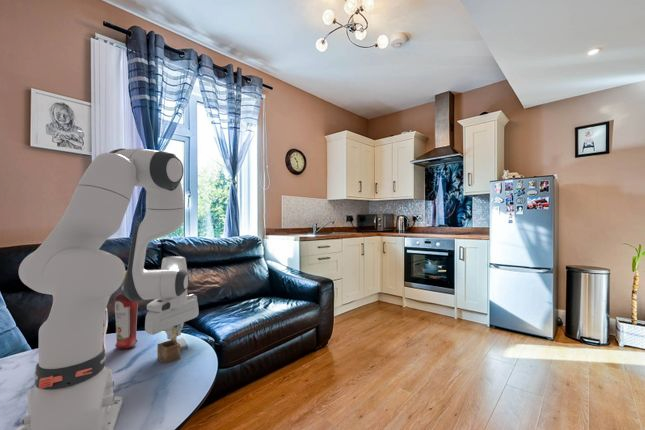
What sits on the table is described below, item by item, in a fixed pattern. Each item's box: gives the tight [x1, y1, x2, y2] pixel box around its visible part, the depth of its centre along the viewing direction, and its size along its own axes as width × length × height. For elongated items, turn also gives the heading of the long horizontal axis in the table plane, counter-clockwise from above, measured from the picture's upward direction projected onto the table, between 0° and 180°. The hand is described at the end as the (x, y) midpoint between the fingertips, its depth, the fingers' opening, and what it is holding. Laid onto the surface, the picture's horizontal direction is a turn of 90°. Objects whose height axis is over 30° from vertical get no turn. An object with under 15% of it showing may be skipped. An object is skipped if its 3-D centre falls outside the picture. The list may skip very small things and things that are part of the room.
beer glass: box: [103, 306, 109, 351], centre depth 103 cm, size 7×7×15 cm
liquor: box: [113, 270, 139, 350], centre depth 106 cm, size 7×7×28 cm
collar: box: [156, 339, 181, 365], centre depth 98 cm, size 6×5×5 cm
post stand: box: [170, 326, 189, 351], centre depth 106 cm, size 8×8×7 cm
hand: (174, 337), depth 106 cm, fingers closed on post stand, 2 cm apart
